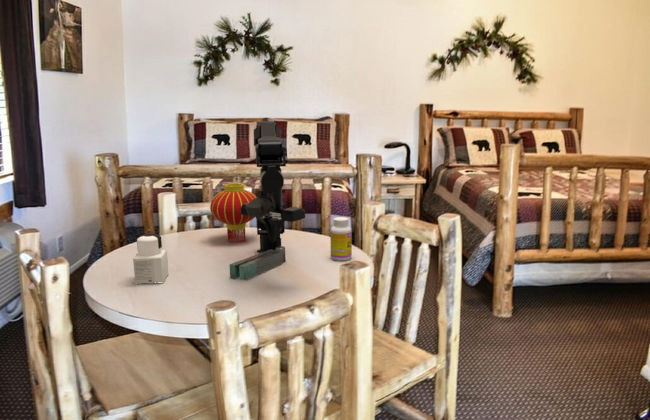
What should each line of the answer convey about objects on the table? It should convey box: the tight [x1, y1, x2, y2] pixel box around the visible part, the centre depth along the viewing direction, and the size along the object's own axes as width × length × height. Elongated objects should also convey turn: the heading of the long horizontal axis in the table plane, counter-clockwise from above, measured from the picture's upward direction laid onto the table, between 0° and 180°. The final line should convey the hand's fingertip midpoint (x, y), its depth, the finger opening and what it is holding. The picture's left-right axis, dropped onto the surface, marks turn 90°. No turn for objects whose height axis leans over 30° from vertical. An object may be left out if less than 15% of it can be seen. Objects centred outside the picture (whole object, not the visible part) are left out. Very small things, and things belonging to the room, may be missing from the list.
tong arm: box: [239, 250, 284, 281], centre depth 163 cm, size 2×18×4 cm, turn 149°
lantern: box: [209, 165, 257, 244], centre depth 195 cm, size 17×17×30 cm
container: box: [132, 233, 169, 283], centre depth 156 cm, size 8×8×13 cm
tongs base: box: [228, 245, 287, 280], centre depth 165 cm, size 4×22×4 cm, turn 145°
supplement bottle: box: [330, 216, 353, 262], centre depth 174 cm, size 7×7×13 cm
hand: (273, 241), depth 154 cm, fingers closed
